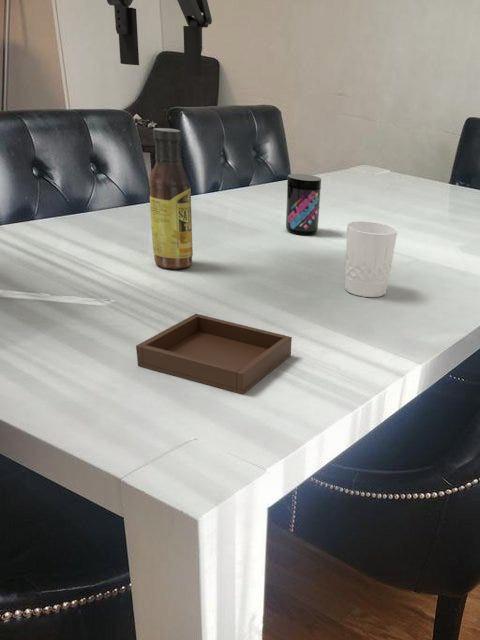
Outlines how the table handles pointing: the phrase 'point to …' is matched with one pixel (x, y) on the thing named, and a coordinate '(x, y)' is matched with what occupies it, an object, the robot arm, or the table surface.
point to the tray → (215, 352)
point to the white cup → (369, 257)
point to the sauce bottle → (170, 203)
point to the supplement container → (303, 204)
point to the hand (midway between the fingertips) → (163, 71)
